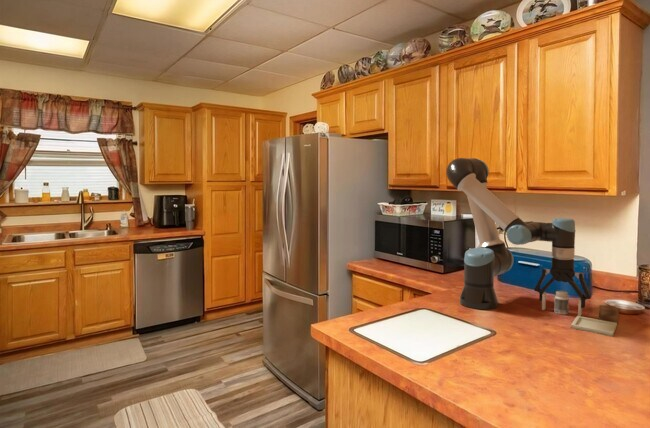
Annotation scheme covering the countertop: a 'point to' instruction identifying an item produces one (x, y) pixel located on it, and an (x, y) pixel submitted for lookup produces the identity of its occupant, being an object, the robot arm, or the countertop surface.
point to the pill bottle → (561, 302)
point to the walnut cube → (608, 313)
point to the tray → (594, 325)
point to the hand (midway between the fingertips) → (561, 312)
